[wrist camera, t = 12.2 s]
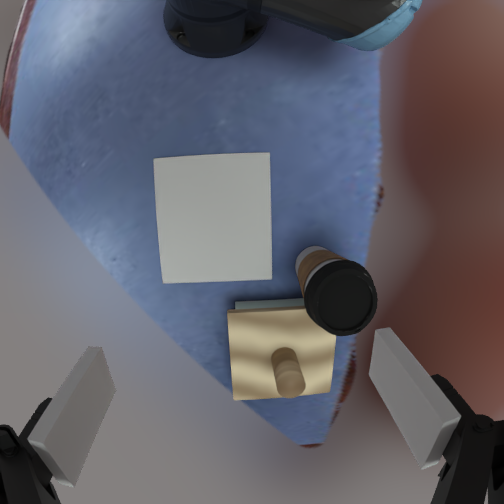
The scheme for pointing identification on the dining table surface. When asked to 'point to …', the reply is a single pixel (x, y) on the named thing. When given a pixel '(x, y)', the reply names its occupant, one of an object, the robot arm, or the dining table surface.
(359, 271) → the coffee cup
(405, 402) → the robot arm
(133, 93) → the dining table surface
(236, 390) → the lid
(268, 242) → the mat
